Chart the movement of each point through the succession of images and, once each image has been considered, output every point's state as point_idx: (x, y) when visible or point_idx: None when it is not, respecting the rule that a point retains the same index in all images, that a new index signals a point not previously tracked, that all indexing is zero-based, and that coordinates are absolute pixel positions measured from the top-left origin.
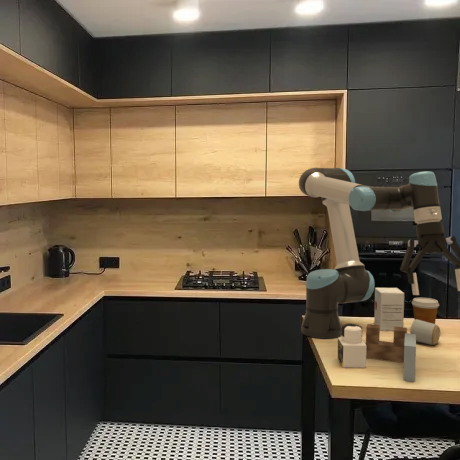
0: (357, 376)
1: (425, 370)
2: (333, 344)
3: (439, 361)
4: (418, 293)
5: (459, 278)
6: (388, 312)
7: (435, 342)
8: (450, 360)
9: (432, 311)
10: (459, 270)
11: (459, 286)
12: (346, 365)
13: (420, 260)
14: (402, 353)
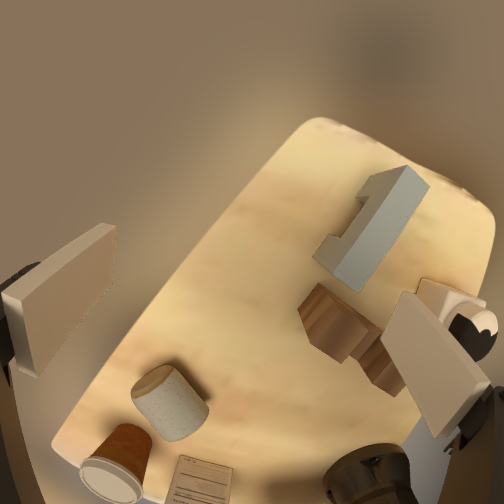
0: (456, 239)
1: (302, 227)
2: (392, 415)
3: (224, 271)
4: (408, 295)
5: (72, 278)
6: (210, 495)
7: (161, 367)
8: (191, 269)
9: (108, 453)
10: (30, 292)
11: (101, 269)
12: (455, 288)
13: (492, 479)
14: (330, 294)
